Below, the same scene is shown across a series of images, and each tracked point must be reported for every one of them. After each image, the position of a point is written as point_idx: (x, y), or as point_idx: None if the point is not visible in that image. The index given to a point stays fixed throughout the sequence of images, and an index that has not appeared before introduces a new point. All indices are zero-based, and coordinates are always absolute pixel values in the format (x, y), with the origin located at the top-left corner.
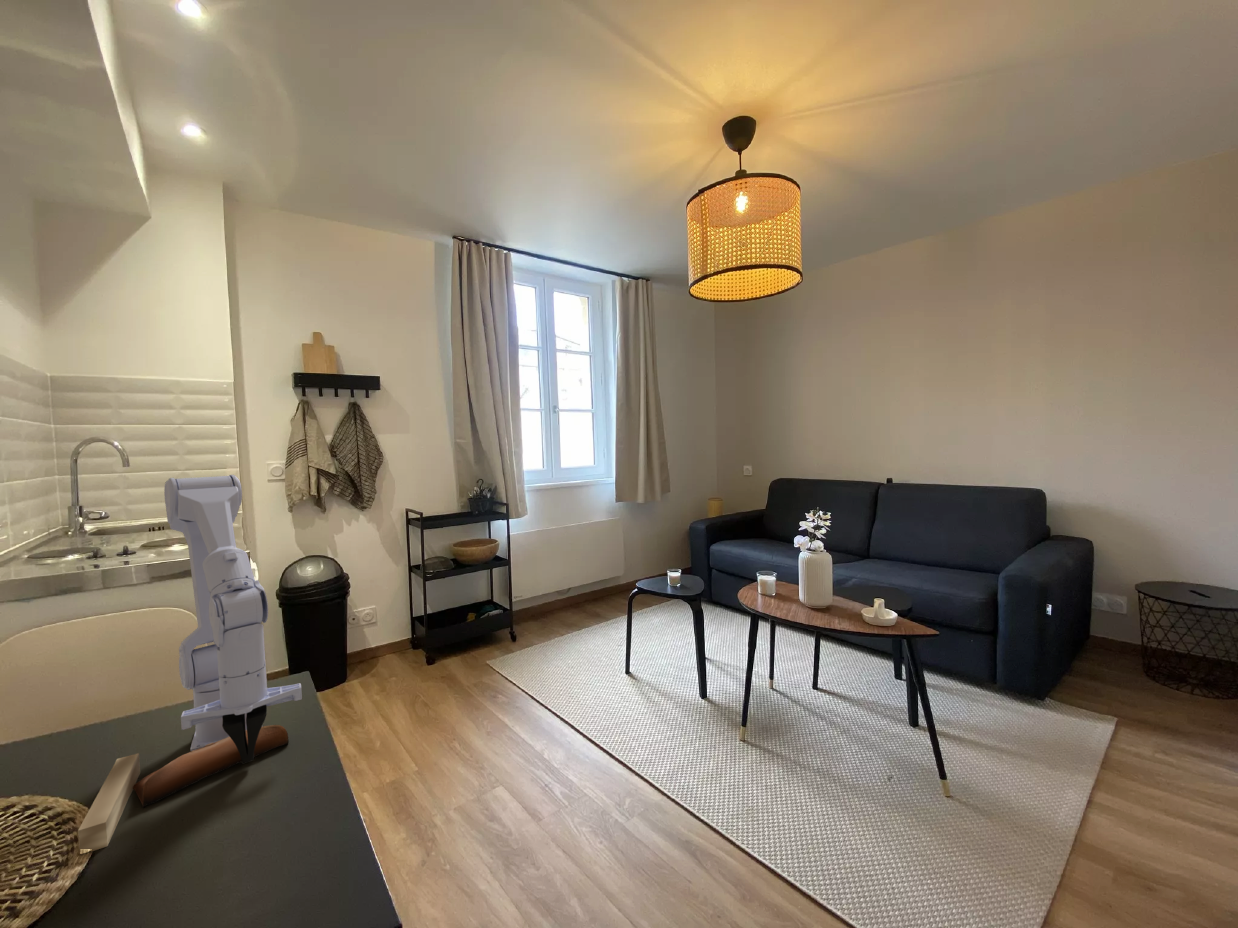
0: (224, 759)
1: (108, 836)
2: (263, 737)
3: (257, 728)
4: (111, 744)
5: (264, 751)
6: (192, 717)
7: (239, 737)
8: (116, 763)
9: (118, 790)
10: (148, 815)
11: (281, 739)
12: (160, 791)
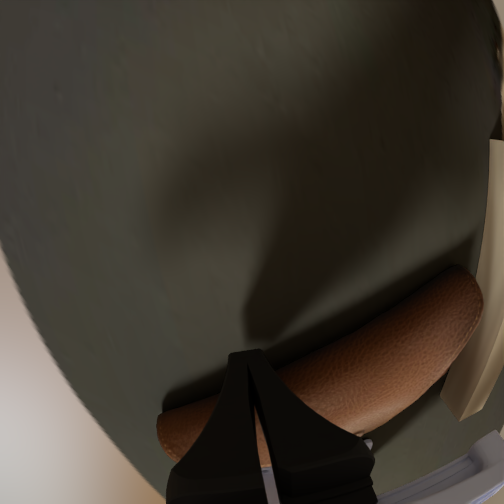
0: (316, 376)
1: (499, 154)
2: None
3: (209, 440)
4: (442, 455)
5: (211, 397)
6: (490, 474)
7: (284, 414)
8: (486, 396)
9: None
10: (447, 223)
11: (171, 422)
12: (445, 287)
